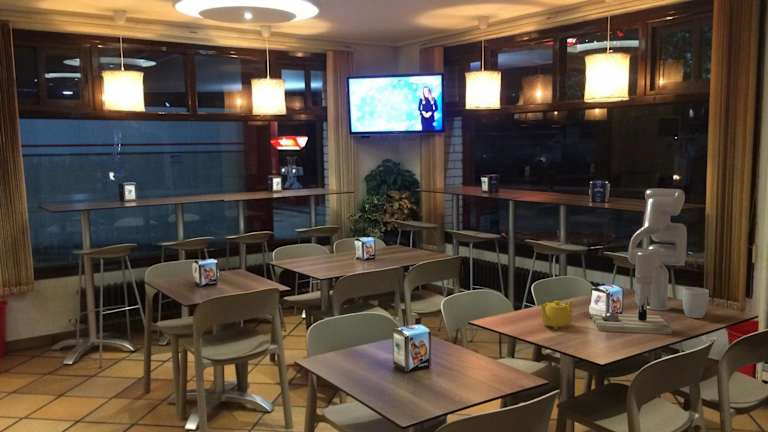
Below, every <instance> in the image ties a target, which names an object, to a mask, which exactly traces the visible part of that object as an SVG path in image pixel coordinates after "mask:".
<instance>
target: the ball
mask: <svg viewBox="0 0 768 432" xmlns="http://www.w3.org/2000/svg"><path fill="white" fill-rule="evenodd" d="M605 314H606V315H605V321H606V322H618V321H619V317H618V315H617V314H618V313H616V312H615V311H609V312H607V313H605Z"/></svg>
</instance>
